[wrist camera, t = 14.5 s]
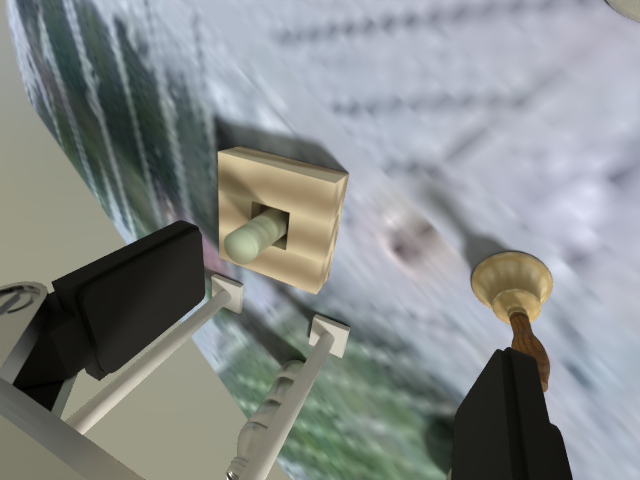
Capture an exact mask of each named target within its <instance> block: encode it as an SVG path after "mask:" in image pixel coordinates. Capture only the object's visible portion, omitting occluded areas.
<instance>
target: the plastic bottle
mask: <svg viewBox="0 0 640 480" xmlns="http://www.w3.org/2000/svg"><path fill="white" fill-rule="evenodd" d="M304 364H305V363H304V362H302V361H300V360H290V361H287V362H286V363H285V364H284V365H283V366H282V367H281V368H280V369H279V371H278V373H277V376H276V378H275V381H274V383H273V385H272V387H271V389H270V391H269V393H268V395H267V396H266V398H265V399H264V401H263V402H262V404H261V405H260V406H259V408H258V409H257V411H256V412H255V413H254V414H253V415H252V417H251V418H250V419H249V420H248V421H247V423H246V424H245V425H244V426H243V428H242V429H241V431H240V434H239V436H238V443H237V457H235V458H234V459H233V460H232V462H231V465H230V466H229V468H228V469H227V471H226V473H225V475H226V478H227V479H228V480H239V478H240V476H241V474H242V473H243V471H244V469H245V467H246V466H247V464H248V462H249V460H250V459H251V457H252V455H253V453H254V452H255V450H256V448H257V446H258V445H259V443H260V441H261V439H262V438H263V436H264V434H265V432H266V431H267V429H268V427H269V425H270V424H271V422H272V420H273V418H274V417H275V415H276V413H277V411H278V409H279V408H280V406H281V404H282V402H283V401H284V399H285V397H286V395H287V394H288V392H289V390H290V388H291V387H292V385H293V383H294V381H295V380H296V378H297V376H298V374H299V373H300V371H301V369H302V367H303V366H304Z"/></svg>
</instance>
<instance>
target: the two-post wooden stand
mask: <svg viewBox="0 0 640 480" xmlns="http://www.w3.org/2000/svg"><path fill="white" fill-rule="evenodd" d="M211 278H212V299H210V300H209V301H208V302H207V303H206V304H204V305H203V306H202V307H201V308H200V309H198V310H197V311H196V312H195V313H194V314H192V315H191V316H190V317H189V318H188V319H186V320H185V321H184V322H183V323H182V324H180V325H179V326H178V327H177V328H176V329H174V330H173V331H172V332H171V333H170V334H169V335H168V336H166V337H165V338H164V339H163V340H161V341H160V342H159V343H158V344H157V345H156V346H154V347H153V348H152V349H151V350H150V351H148V352H147V353H146V354H145V355H143V356H142V357H141V358H140V359H139V360H138V361H136V362H135V363H134V364H133V365H132V366H130V367H129V368H128V369H127V370H126V371H124V372H123V373H122V374H121V375H120V376H118V377H117V378H116V379H115V380H114V381H112V382H111V383H110V384H109V385H108V386H106V387H105V388H104V389H103V390H102V391H101V392H99V393H98V394H97V395H96V396H95V397H93V398H92V399H91V400H90V401H89V402H87V403H86V404H85V405H84V406H83V407H81V408H80V409H79V410H78V411H77V412H76V413H74V414H73V415H72V416H71V417H70V418H68V419H67V420H66V421H65V423H67V424H68V425H70V426H71V427H72V428H74V429H75V430H77V431H78V432H79V433H81V434H82V435H83V434H84V433H85V432H86V431H87V430H88V429H90V428H91V427H92V426H93V425H94V424H95V423H96V422H97V421H98V420H100V419H101V418H102V417H103V416H104V415H105V414H106V413H107V412H108V411H109V410H110V409H112V408H113V407H114V406H115V405H116V404H117V403H118V402H119V401H120V400H121V399H122V398H124V397H125V396H126V395H127V394H128V393H129V392H130V391H131V390H132V389H133V388H135V387H136V386H137V385H138V384H139V383H140V382H141V381H142V380H143V379H144V378H146V376H148V375H149V374H150V373H151V372H152V371H153V370H154V369H155V368H156V367H158V366H159V365H160V364H161V363H162V362H163V361H164V360H165V359H166V358H167V357H168V356H170V355H171V354H172V353H173V352H174V351H175V350H176V349H177V348H178V347H179V346H181V345H182V344H183V343H184V342H185V341H186V340H187V339H188V338H189V337H190V336H192V335H193V334H194V333H195V332H196V331H197V330H198V329H199V328H200V327H201V326H202V325H204V324H205V323H206V322H207V321H208V320H209V319H210V318H211V317H212V316H213V315H215V314H216V313H217V312H218V311H219V310H220V309H221V308H222V307H224V308H227V309H229V310H231V311H234V312H236V313H238V314H240V313H241V312H242V311H243V285H242V284H240V283H237V282H235V281H232V280H230V279H227V278H225V277H222V276H220V275H217V274H214V275H213V276H211ZM349 331H350V327H348V326H345V325H343V324H340V323H338V322H335V321H333V320H330V319H328V318H325V317H323V316H320V315H318V314H315V316H314V318H313V323H312V329H311V334H310V340H309V344H310V345H313V346H314V348H313V350H312V352H311V353H310V355H309V357H308V359H307V360H306V362H305V364H304V366H303V367H302V369H301V371H300V373H299V374H298V376H297V378H296V380H295V381H294V383H293V385H292V387H291V388H290V390H289V392H288V394H287V395H286V397H285V399H284V401H283V402H282V404H281V406H280V408H279V409H278V411H277V413H276V415H275V417H274V418H273V420H272V422H271V424H270V425H269V427H268V429H267V431H266V432H265V434H264V436H263V438H262V439H261V441H260V443H259V445H258V446H257V448H256V450H255V452H254V453H253V455H252V457H251V459H250V460H249V462H248V464H247V466H246V467H245V469H244V471H243V473H242V474H241V476H240V478H239V480H265V479H266V477H267V475H268V473H269V471H270V469H271V467H272V465H273V463H274V461H275V459H276V457H277V455H278V453H279V451H280V449H281V447H282V445H283V443H284V441H285V439H286V437H287V435H288V433H289V431H290V429H291V427H292V425H293V423H294V421H295V419H296V417H297V415H298V413H299V411H300V409H301V407H302V405H303V403H304V401H305V399H306V397H307V395H308V393H309V391H310V389H311V387H312V385H313V383H314V381H315V379H316V377H317V375H318V373H319V371H320V369H321V367H322V365H323V363H324V361H325V359H326V357H327V355H328V353H331V354H334V355H336V356H338V357H341V358H342V356H343V354H344V350H345V346H346V343H347V339H348V335H349Z"/></svg>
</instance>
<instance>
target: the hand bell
mask: <svg viewBox="0 0 640 480" xmlns="http://www.w3.org/2000/svg"><path fill="white" fill-rule="evenodd" d="M471 284H472V289H473V292H474V294H475V295H476V297H477V298H478V299H479V300H480V301H481V302H482V303H483V304H485V305H486V306H487V307H489V308H491V309H492V310H493V312H494V314H495V315H496V316H497V317H498V318H499V319H500V320H502V321H503V322H506V323H508V324H511V326H512V329H513V333H514V337H513V340H512V345H511V348H513V349H516V350H518V351H521V352H524V353H526V354H529V355H531V356H534V357H535V359H536V361H537V366H538V370H539V375H540V379H541V384H542V389H543V393H544V392H546V391H547V389H548V379H549V374H550V363H549V359H548V356H547V353H546V351H545V349H544V347H543V345H542V344H541V342H540V341H539V340H538V339H537V338H536V337H535V336H534V334H533V333H532V329H531V325H530V322H532V321H534V320H535V319H536V318H537V317H538V316H539V314H540V311H541V304H542V303H544V302H545V301H546V299H547V298H548V297H549V295H550V293H551V291H552V287H553V279H552V276H551V273H550V271H549V269H548V268H547V267H546V266H545V265H544V263H542V262H541V261H540V260H538V259H537V258H535V257H533V256H531V255H528V254H525V253H519V252H502V253H498V254H495V255H492V256H490V257H488V258H486V259H484V260H483V261H482V262H481V263H480V264H479V265H478V266H477V267H476V268H475V270H474V272H473V275H472V279H471Z"/></svg>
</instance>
